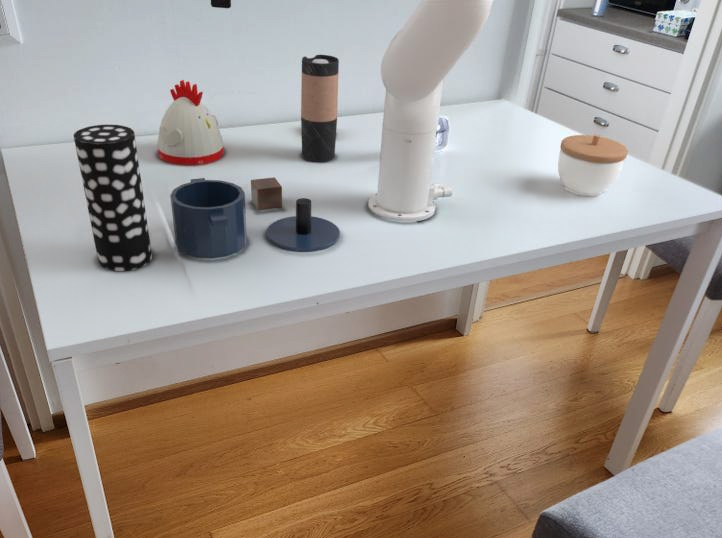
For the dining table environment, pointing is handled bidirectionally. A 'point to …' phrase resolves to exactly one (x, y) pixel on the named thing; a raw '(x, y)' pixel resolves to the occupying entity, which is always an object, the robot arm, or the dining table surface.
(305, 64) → the travel mug
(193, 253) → the pot
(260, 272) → the dining table surface
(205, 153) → the kitchen timer
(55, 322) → the dining table surface
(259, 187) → the block
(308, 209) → the lid
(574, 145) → the lidded bowl
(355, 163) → the dining table surface
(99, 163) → the spotted tube
